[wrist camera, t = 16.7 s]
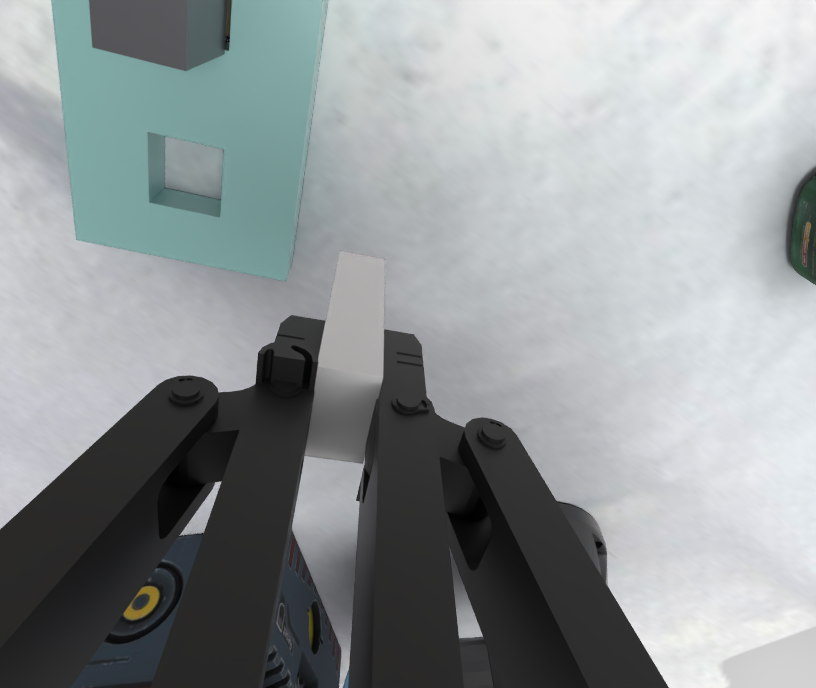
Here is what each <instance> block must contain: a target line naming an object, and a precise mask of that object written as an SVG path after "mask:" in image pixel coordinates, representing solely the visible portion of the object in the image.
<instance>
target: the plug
mask: <svg viewBox="0 0 816 688" xmlns="http://www.w3.org/2000/svg"><path fill="white" fill-rule="evenodd" d="M231 8H232V0H89V9H90V23H91V37H92V48H96V49H100V50H104V51H108V52H112V53H116V54H120V55H124V56H127V57H131V58H135V59H139V60H143V61H147V62H151V63H155V64H159V65H163V66H167V67H171V68H175V69H179V70H183V71H188V70H190V69H192V68H194V67H197V66H199V65H201V64H204V63H206V62H208V61H210V60H213V59H215V58H217V57H220V56H222V55H224V54H225V37H226V36H229V35H230V26H231Z"/></svg>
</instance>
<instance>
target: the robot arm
mask: <svg viewBox="0 0 816 688" xmlns="http://www.w3.org/2000/svg"><path fill="white" fill-rule="evenodd" d="M384 296H385V259H382V258H376V257H371V256H365V255H360V254H355V253H349V252H344V251H340V252H339V257H338V262H337V267H336V272H335V277H334V282H333V287H332V292H331V297H330V302H329V307H328V312H327V317H326V321H323V320H317V319H311V318H305V317H299V316H293V315H291V316H290V317H288V318H287V319H286V320H285V321H283V322H282V323H281V324H280V327H279V330H278V333H277V336H276V339H275V342H274V343H270V344H268V345H266V346H264V347H263V348H262V349H261V350H260V351H259V353H258V361H257V374H256V384H255V385H253V386H252V387H250V388H247V389H244V390H240V391H233V392H220V393H218V388H217V387H216V386H215V385H214V384H213V383H212V382H211V381H209V380H207V379H204V378H202V377H196V376H177V377H174V378H170V379H167V380H165V381H163V382H162V383H160V384H159V385H157V386H156V387H155V388H154V389H153V390H152V391H151V392H150V393H148V394H147V395H146V396H145V397H144V398H143V399H142V400H141V401H140V402H139V403H138V404H136V405H135V406H134V407H133V408H132V409H131V410H130V411H129V412H128V413H127V414H126V415H125V416H123V417H122V418H121V419H120V420H119V421H118V422H117V423H116V424H115V425H114V426H113V427H111V428H110V429H109V430H108V431H107V432H106V433H105V434H104V435H103V436H102V437H101V438H99V439H98V440H97V441H96V442H95V443H94V444H93V445H92V446H91V447H90V448H89V449H87V450H86V451H85V452H84V453H83V454H82V455H81V456H80V457H79V458H78V459H77V460H75V461H74V462H73V463H72V464H71V465H70V466H69V467H68V468H67V469H66V470H65V471H64V472H62V473H61V474H60V475H59V476H58V477H57V478H56V479H55V480H54V481H53V482H52V483H50V484H49V485H48V486H47V487H46V488H45V489H44V490H43V491H42V492H41V493H40V494H38V495H37V496H36V497H35V498H34V499H33V500H32V501H31V502H30V503H29V504H28V505H26V506H25V507H24V508H23V509H22V510H21V511H20V512H19V513H18V514H17V515H16V516H14V517H13V518H12V519H11V520H10V521H9V522H8V523H7V524H6V525H5V526H4V527H3V528H1V529H0V688H70V687H71V686H72V685H73V683H74V682H75V680H76V679H77V678H78V676H79V675H80V673H81V672H82V671H83V669H84V668H85V666H86V665H87V664H88V662H89V661H90V660H91V658H92V657H93V655H94V654H95V653H96V651H97V650H98V648H99V647H100V646H101V644H102V643H103V641H104V640H105V639H106V637H107V636H108V634H109V633H110V632H111V630H112V629H113V627H114V626H115V625H116V623H117V622H118V620H119V619H120V618H121V616H122V615H123V613H124V612H125V611H126V609H127V608H128V606H129V605H130V604H131V602H132V601H133V599H134V598H135V597H136V595H137V594H138V592H139V591H140V590H141V588H142V587H143V585H144V584H145V583H146V581H147V580H148V578H149V577H150V576H151V574H152V573H153V571H154V570H155V569H156V567H157V566H158V564H159V563H160V562H161V560H162V559H163V557H164V556H165V555H166V553H167V552H168V550H169V549H170V548H171V546H172V545H173V543H174V542H175V541H176V539H177V538H178V537H179V535H180V534H181V532H182V531H183V530H184V528H185V527H186V525H187V524H188V523H189V521H190V520H191V518H192V517H193V516H194V514H195V513H196V511H197V510H198V509H199V507H200V506H201V504H202V503H203V502H204V500H205V499H206V497H207V496H208V495H209V493H210V492H211V490H212V489H213V487H214V484H215V482H219V481H222V482H221V485H220V488H219V491H218V494H217V497H216V500H215V502H214V505H213V508H212V511H211V514H210V517H209V520H208V523H207V526H206V528H205V531H204V534H203V537H202V540H201V543H200V546H199V549H198V552H197V555H196V557H195V560H194V563H193V566H192V569H191V572H190V575H189V578H188V581H187V583H186V586H185V589H184V592H183V595H182V598H181V601H180V604H179V607H178V610H177V612H176V615H175V618H174V621H173V624H172V627H171V630H170V633H169V636H168V638H167V641H166V644H165V647H164V650H163V653H162V656H161V659H160V662H159V665H158V667H157V670H156V673H155V676H154V679H153V682H152V685H151V688H263V682H264V677H265V671H266V666H267V660H268V655H269V649H270V644H271V638H272V633H273V627H274V622H275V616H276V611H277V605H278V600H279V594H280V589H281V583H282V578H283V572H284V567H285V561H286V556H287V550H288V545H289V539H290V534H291V528H292V523H293V517H294V512H295V506H296V501H297V495H298V490H299V484H300V479H301V473H302V467H303V461H304V456H310V457H317V458H325V459H332V460H340V461H347V462H355V463H363V461H364V457H365V465H364V469H363V473H362V478H361V482H360V486H359V490H358V495H357V499H356V501H360V505H359V521H358V537H357V553H356V569H355V585H354V601H353V617H352V633H351V650H350V666H349V670H348V673H347V676H346V679H345V683H344V687H343V688H669V687H668V686H667V684H666V682H665V681H664V679H663V677H662V676H661V674H660V672H659V671H658V669H657V667H656V666H655V664H654V663H653V661H652V659H651V658H650V656H649V654H648V653H647V651H646V649H645V648H644V646H643V644H642V643H641V641H640V639H639V638H638V636H637V634H636V633H635V631H634V629H633V628H632V626H631V624H630V623H629V621H628V619H627V618H626V616H625V614H624V613H623V611H622V609H621V608H620V606H619V604H618V603H617V601H616V599H615V598H614V596H613V594H612V593H611V591H610V589H609V588H608V586H607V549H606V544H605V541H604V538H603V536H602V533H601V531H600V528H599V526H598V524H597V522H596V521H595V519H594V518H593V517H592V516H591V515H589V514H588V513H587V512H585V511H583V510H581V509H579V508H577V507H574V506H571V505H567V504H563V503H557V501H556V500H555V498H554V496H553V495H552V493H551V491H550V490H549V488H548V486H547V485H546V483H545V481H544V480H543V478H542V477H541V475H540V473H539V472H538V470H537V468H536V467H535V465H534V463H533V462H532V460H531V458H530V457H529V455H528V453H527V452H526V450H525V448H524V447H523V445H522V443H521V442H520V440H519V438H518V437H517V435H516V434H515V433H514V432H513V431H512V429H511V428H509V427H508V426H506V425H505V424H503V423H501V422H499V421H496V420H493V419H489V418H477V419H472V420H471V421H469V422H468V423H467V424H466V426H465V428H464V427H462V426H459V425H457V424H454V423H451V422H449V421H447V420H445V419H443V418H441V417H440V416H439V415H437V414H436V413H435V411H434V407H433V405H432V402H431V401H430V400H429V399H428V398H427V397H426V387H425V377H424V367H423V358H422V345H421V344H420V343H419V341H418V340H417V338H416V337H415V336H414V334H408V333H402V332H396V331H390V330H384ZM449 546H450V549H451V551H452V554H453V557H454V559H455V562H456V565H457V567H458V570H459V573H460V576H461V578H462V581H463V584H464V586H465V589H466V592H467V594H468V597H469V600H470V602H471V605H472V608H473V610H474V613H475V616H476V618H477V621H478V624H479V627H480V629H481V632H482V635H483V637H474V638H459V635H458V625H457V616H456V607H455V597H454V588H453V579H452V569H451V560H450V551H449Z"/></svg>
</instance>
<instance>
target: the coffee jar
mask: <svg viewBox="0 0 816 688" xmlns="http://www.w3.org/2000/svg"><path fill="white" fill-rule="evenodd" d="M791 262H792V265H793V267H794V269H795V270H796V271H797V273H798V274H800V275H801V276H803V277H804V278H806V279H807V280H809V281H810V282H812V283H813V284H815V285H816V175H815V176H813V178H811V179H810V180H809V181H808V182H807V184H806V185H805V186H804V188H803V190H802V191H801V194H800V197H799V200H798V203H797V207H796V211H795V215H794V220H793V226H792V233H791Z"/></svg>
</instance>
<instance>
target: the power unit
mask: <svg viewBox="0 0 816 688" xmlns="http://www.w3.org/2000/svg"><path fill="white" fill-rule="evenodd" d="M202 537H203V534H198V535H189V536H181V537H178V538H177V539H176V541H175V542H174V543H173V545H172V546H171V548H170V549H169V550H168V552H167V553H166V555H165V556H164V557H163V559H162V560H161V562H160V563H159V564H158V566H157V567H156V569H155V570H154V571H153V573H152V574H151V576H150V577H149V578H148V580H147V581H146V583H145V584H144V585H143V587H142V588H141V590H140V591H139V592H138V594H137V595H136V597H135V598H134V599H133V601H132V602H131V604H130V605H129V606H128V608H127V609H126V611H125V612H124V613H123V615H122V616H121V618H120V619H119V620H118V622H117V623H116V625H115V626H114V627H113V629H112V630H111V632H110V633H109V634H108V636H107V637H106V639H105V640H104V641H103V643H102V644H101V646H100V647H99V648H98V650H97V651H96V653H95V654H94V655H93V657H92V658H91V660H90V661H89V662H88V664H87V665H86V666H85V668H84V669H83V671H82V672H81V673H80V675H79V676H78V678H77V679H76V680H75V682H74V683H73V685H72V686H71V687H70V688H151V685H152V682H153V679H154V676H155V673H156V670H157V667H158V665H159V662H160V659H161V656H162V653H163V650H164V647H165V644H166V641H167V638H168V636H169V633H170V630H171V627H172V624H173V621H174V618H175V615H176V612H177V610H178V607H179V604H180V601H181V598H182V595H183V592H184V589H185V586H186V583H187V581H188V578H189V575H190V572H191V569H192V566H193V563H194V560H195V557H196V555H197V552H198V549H199V546H200V543H201V540H202ZM340 664H341V649H340V647H339V644H338V642H337V639H336V637H335V634H334V632H333V630H332V627H331V625H330V622H329V620H328V618H327V615H326V613H325V610H324V608H323V606H322V603H321V601H320V598H319V596H318V593H317V591H316V589H315V586H314V584H313V581H312V579H311V577H310V574H309V572H308V569H307V567H306V565H305V562H304V560H303V557H302V555H301V552H300V550H299V548H298V545H297V543H296V540H295V538H294V536H293V533H292V531H291V534H290V539H289V545H288V550H287V556H286V561H285V567H284V572H283V578H282V583H281V589H280V594H279V600H278V605H277V611H276V616H275V622H274V627H273V633H272V638H271V644H270V649H269V655H268V660H267V666H266V671H265V677H264V682H263V688H339V678H340Z"/></svg>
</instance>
